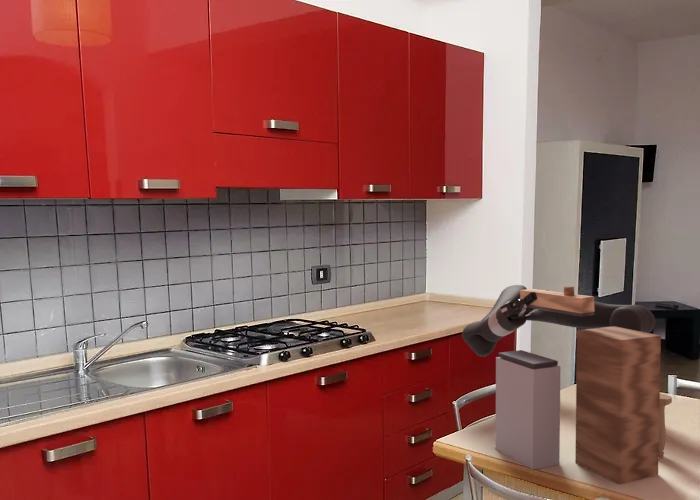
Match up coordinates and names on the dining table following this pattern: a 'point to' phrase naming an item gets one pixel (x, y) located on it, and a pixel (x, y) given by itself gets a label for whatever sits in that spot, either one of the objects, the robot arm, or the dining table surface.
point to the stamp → (561, 301)
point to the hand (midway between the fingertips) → (541, 294)
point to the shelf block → (618, 402)
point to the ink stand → (528, 408)
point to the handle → (662, 421)
